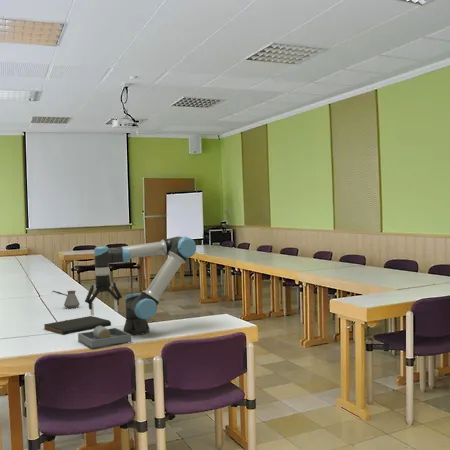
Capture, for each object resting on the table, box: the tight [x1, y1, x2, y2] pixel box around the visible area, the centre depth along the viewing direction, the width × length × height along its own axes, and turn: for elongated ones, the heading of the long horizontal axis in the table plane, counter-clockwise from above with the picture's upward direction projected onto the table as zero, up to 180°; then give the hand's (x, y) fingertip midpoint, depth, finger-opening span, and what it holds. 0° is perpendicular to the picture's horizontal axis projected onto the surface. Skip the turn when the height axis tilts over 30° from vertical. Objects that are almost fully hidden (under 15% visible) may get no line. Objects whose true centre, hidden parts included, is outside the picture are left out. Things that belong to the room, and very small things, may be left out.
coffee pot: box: [51, 290, 80, 310], centre depth 395 cm, size 21×12×15 cm, turn 132°
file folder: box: [43, 315, 112, 336], centre depth 326 cm, size 33×4×24 cm
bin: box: [77, 327, 132, 350], centre depth 285 cm, size 22×22×4 cm
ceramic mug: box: [93, 326, 114, 339], centre depth 286 cm, size 11×8×8 cm
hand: (104, 313), depth 285 cm, fingers open, 13 cm apart
